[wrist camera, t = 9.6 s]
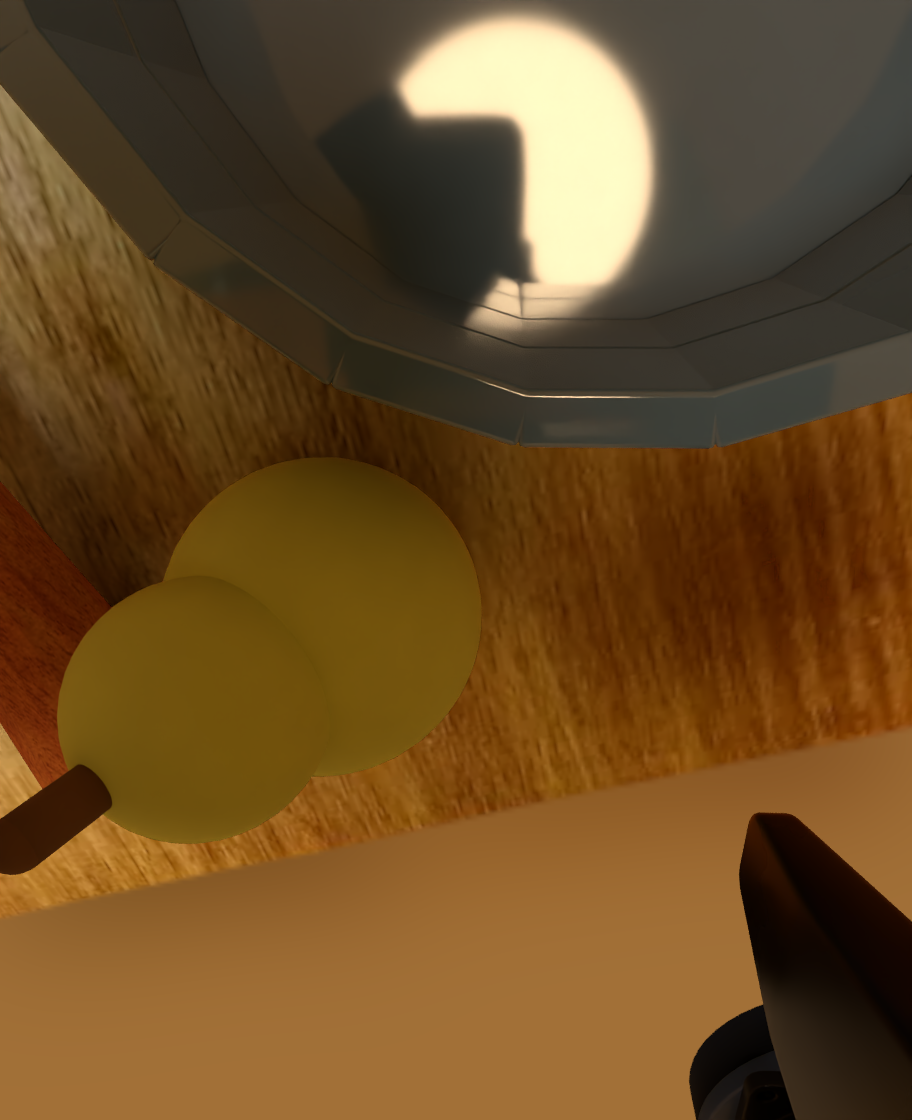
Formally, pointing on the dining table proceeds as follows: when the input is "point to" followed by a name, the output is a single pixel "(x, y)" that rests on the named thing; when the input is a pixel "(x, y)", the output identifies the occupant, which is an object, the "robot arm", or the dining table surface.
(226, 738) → the pear toy
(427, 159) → the bowl
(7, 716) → the kendama
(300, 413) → the dining table surface
